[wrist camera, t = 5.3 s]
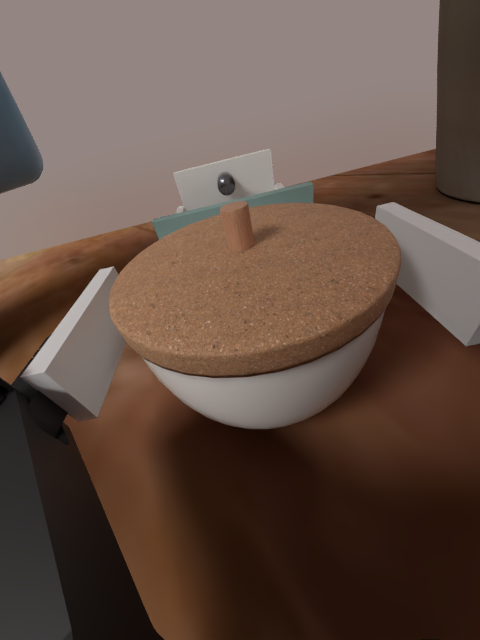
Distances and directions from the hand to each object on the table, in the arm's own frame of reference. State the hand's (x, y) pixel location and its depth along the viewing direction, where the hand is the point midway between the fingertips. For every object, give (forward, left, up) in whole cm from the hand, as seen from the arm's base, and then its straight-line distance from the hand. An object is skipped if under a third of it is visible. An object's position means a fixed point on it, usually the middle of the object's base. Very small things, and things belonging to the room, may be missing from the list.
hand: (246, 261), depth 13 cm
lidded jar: (+1, -2, -6) cm, 7 cm away
